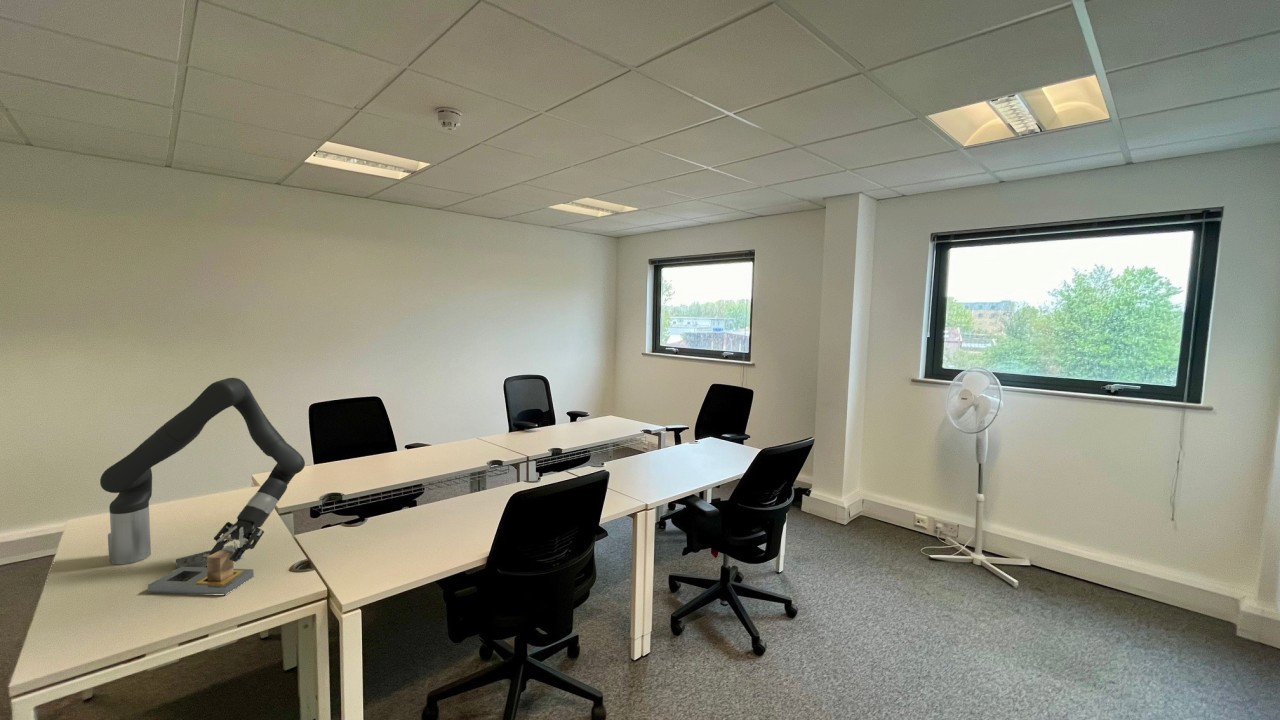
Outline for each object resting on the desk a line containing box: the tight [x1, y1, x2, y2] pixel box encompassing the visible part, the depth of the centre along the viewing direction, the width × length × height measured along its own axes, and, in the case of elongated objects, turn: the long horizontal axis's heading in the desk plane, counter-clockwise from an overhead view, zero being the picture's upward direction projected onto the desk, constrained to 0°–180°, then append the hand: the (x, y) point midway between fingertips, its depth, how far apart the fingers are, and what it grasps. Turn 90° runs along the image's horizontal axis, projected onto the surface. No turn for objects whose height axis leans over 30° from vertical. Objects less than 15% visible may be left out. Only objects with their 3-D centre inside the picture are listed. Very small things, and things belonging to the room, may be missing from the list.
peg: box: [206, 550, 235, 582], centre depth 155 cm, size 4×4×10 cm
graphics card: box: [175, 540, 245, 569], centre depth 169 cm, size 17×4×12 cm
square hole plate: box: [147, 567, 255, 596], centre depth 155 cm, size 23×11×3 cm, turn 90°
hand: (222, 558), depth 155 cm, fingers open, 8 cm apart
